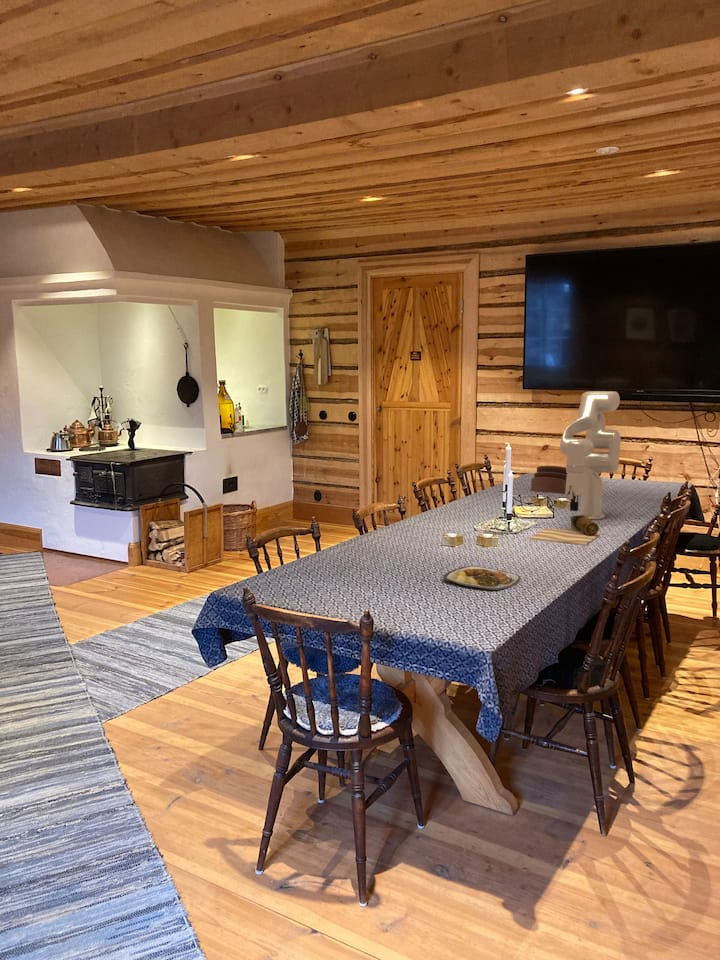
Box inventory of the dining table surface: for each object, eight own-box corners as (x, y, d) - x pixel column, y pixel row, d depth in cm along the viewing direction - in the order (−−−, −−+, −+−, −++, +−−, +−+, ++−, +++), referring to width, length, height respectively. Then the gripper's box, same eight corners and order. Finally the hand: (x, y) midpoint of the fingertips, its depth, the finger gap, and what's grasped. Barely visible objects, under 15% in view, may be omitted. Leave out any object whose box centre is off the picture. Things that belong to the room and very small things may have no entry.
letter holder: (536, 488, 451) (537, 464, 449) (570, 491, 441) (571, 466, 439) (530, 491, 443) (531, 467, 441) (565, 494, 432) (565, 469, 430)
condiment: (589, 530, 342) (600, 536, 330) (570, 532, 341) (581, 538, 329) (588, 514, 340) (600, 519, 329) (570, 516, 339) (581, 521, 328)
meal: (498, 596, 256) (498, 589, 255) (433, 582, 271) (433, 575, 270) (531, 578, 275) (531, 571, 275) (469, 566, 290) (469, 559, 290)
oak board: (545, 529, 346) (545, 528, 346) (599, 535, 333) (599, 533, 333) (529, 539, 329) (529, 537, 329) (586, 545, 317) (586, 543, 317)
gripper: (571, 466, 345) (570, 506, 348) (561, 471, 333) (560, 512, 336) (588, 467, 341) (587, 508, 344) (578, 472, 329) (577, 514, 332)
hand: (574, 510), depth 340 cm, fingers closed
